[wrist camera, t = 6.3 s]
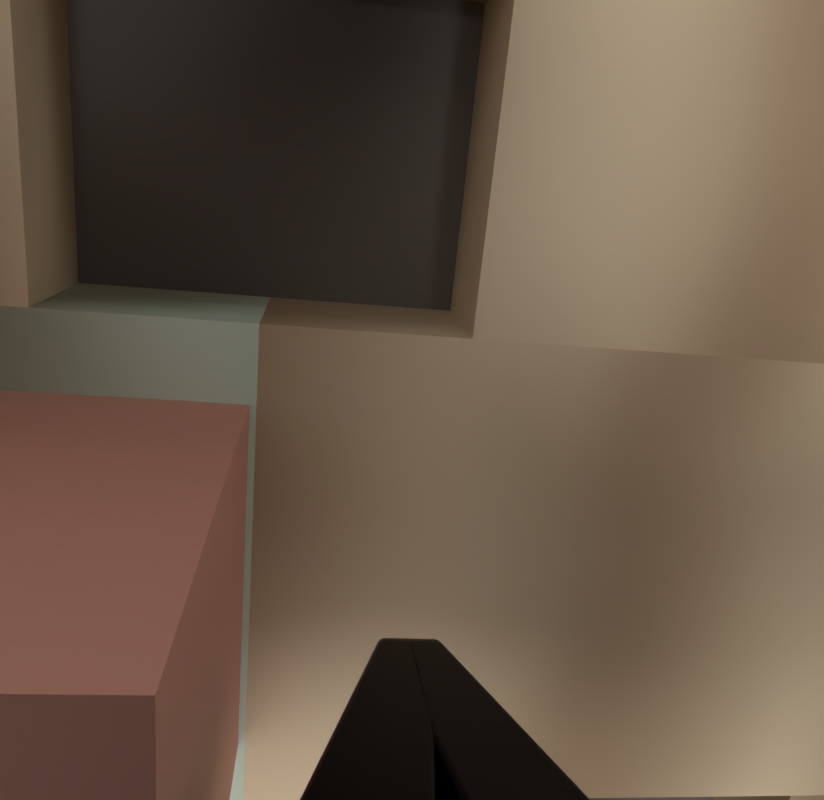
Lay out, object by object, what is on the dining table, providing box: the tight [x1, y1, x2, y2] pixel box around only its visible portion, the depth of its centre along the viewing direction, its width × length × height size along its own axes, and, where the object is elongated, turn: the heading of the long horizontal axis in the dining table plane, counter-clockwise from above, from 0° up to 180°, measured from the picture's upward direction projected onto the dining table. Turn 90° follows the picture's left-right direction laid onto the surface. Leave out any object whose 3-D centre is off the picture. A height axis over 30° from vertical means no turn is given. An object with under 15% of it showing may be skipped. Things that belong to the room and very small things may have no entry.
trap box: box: [0, 0, 824, 800], centre depth 9 cm, size 18×16×5 cm
